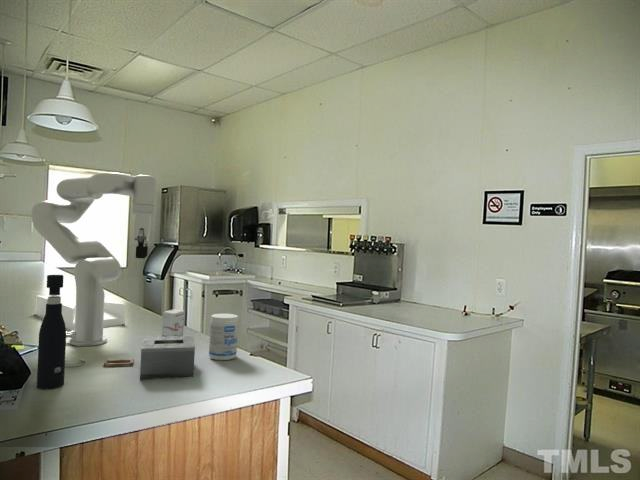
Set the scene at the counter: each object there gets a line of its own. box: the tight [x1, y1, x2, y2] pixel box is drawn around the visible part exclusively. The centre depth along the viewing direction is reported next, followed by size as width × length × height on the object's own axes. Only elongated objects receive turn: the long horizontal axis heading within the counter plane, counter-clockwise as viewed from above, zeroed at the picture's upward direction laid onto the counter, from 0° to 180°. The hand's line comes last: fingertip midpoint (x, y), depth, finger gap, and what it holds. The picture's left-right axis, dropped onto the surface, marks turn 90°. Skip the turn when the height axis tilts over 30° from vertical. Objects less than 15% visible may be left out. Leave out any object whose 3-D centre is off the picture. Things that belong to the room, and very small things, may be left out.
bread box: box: [34, 294, 127, 331], centre depth 207 cm, size 45×22×10 cm, turn 49°
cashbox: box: [139, 335, 196, 381], centre depth 139 cm, size 15×15×9 cm
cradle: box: [102, 357, 135, 368], centre depth 143 cm, size 8×5×1 cm, turn 108°
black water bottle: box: [36, 274, 67, 390], centre depth 121 cm, size 6×6×30 cm
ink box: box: [161, 308, 186, 336], centre depth 176 cm, size 9×5×12 cm, turn 168°
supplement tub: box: [208, 313, 239, 361], centre depth 157 cm, size 10×10×15 cm
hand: (141, 257), depth 161 cm, fingers open, 9 cm apart
